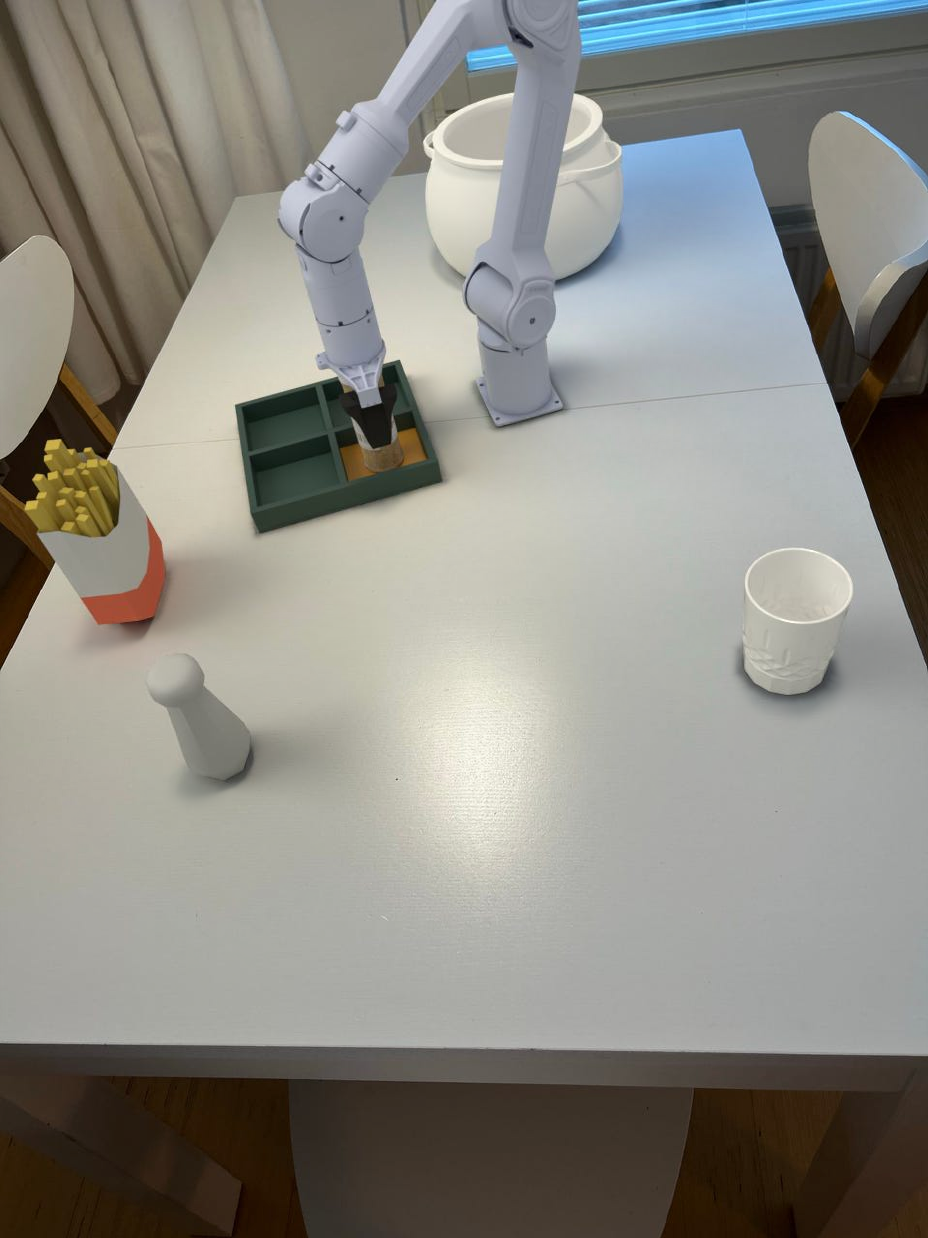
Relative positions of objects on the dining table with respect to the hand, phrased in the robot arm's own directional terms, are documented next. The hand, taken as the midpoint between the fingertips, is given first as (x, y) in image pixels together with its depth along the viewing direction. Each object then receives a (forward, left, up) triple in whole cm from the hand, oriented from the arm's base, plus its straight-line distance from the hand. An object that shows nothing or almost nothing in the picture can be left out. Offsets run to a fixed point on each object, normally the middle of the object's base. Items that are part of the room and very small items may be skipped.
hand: (374, 423), depth 100 cm
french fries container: (+10, -28, -6) cm, 30 cm away
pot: (-38, +28, -6) cm, 48 cm away
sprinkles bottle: (0, 0, -5) cm, 5 cm away
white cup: (+40, +27, -6) cm, 49 cm away
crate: (-5, -5, -6) cm, 9 cm away
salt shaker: (+33, -21, -6) cm, 40 cm away
